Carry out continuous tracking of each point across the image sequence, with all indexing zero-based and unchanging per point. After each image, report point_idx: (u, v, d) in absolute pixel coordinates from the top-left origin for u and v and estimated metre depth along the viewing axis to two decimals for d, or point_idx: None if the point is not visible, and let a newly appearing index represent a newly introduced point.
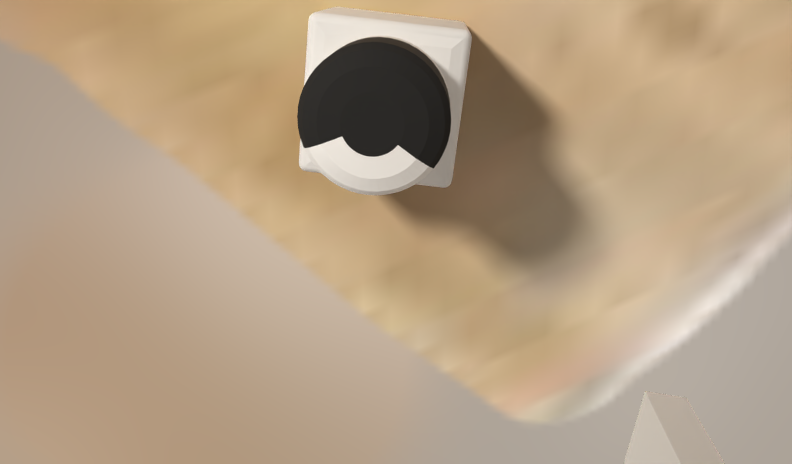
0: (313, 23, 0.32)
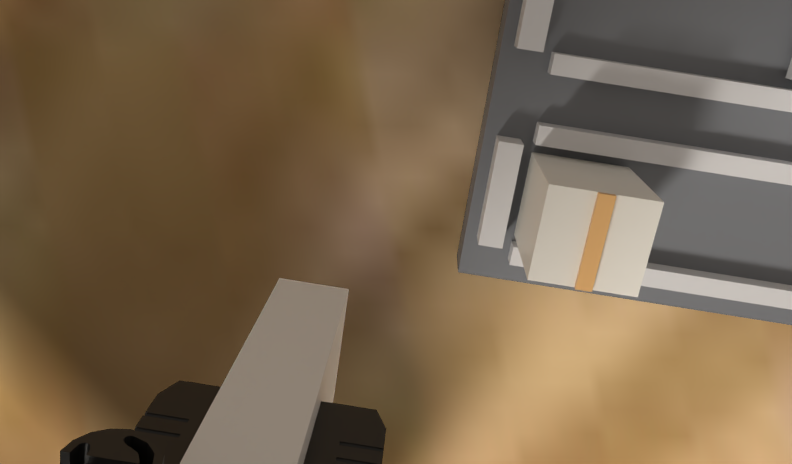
0: None
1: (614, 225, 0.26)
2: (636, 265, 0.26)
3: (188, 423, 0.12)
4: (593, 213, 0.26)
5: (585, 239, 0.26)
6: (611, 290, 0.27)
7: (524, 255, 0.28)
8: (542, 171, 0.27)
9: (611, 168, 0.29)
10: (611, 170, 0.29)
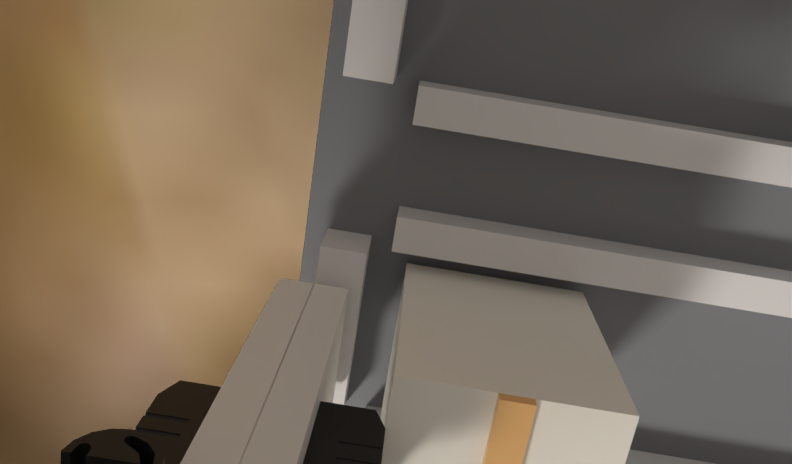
0: None
1: (536, 457, 0.12)
2: None
3: (188, 423, 0.12)
4: (491, 434, 0.12)
5: None
6: None
7: None
8: (401, 326, 0.14)
9: (548, 299, 0.16)
10: (546, 307, 0.15)
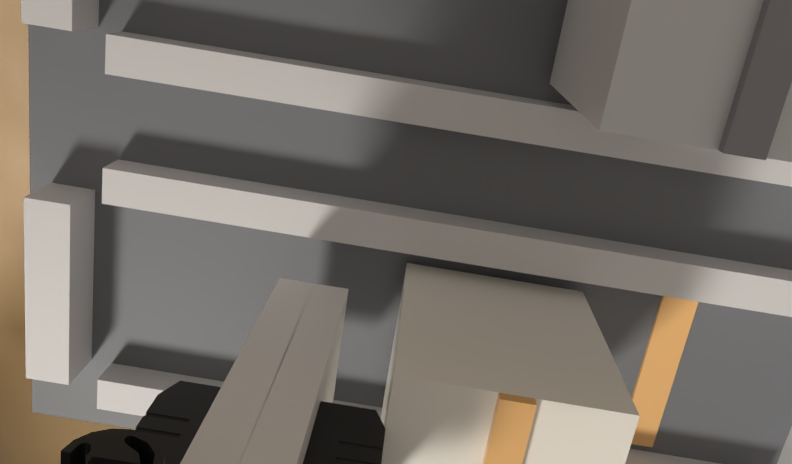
0: None
1: (536, 456, 0.12)
2: None
3: (188, 423, 0.12)
4: (490, 434, 0.12)
5: None
6: None
7: None
8: (401, 325, 0.14)
9: (548, 299, 0.16)
10: (546, 306, 0.16)
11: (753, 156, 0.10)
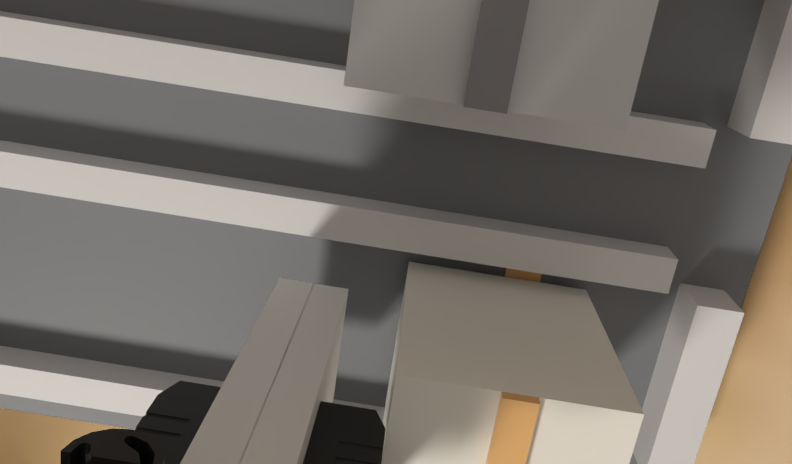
0: None
1: (540, 456, 0.12)
2: None
3: (188, 423, 0.12)
4: (494, 433, 0.12)
5: None
6: None
7: None
8: (403, 324, 0.14)
9: (551, 297, 0.16)
10: (549, 304, 0.15)
11: (494, 110, 0.10)
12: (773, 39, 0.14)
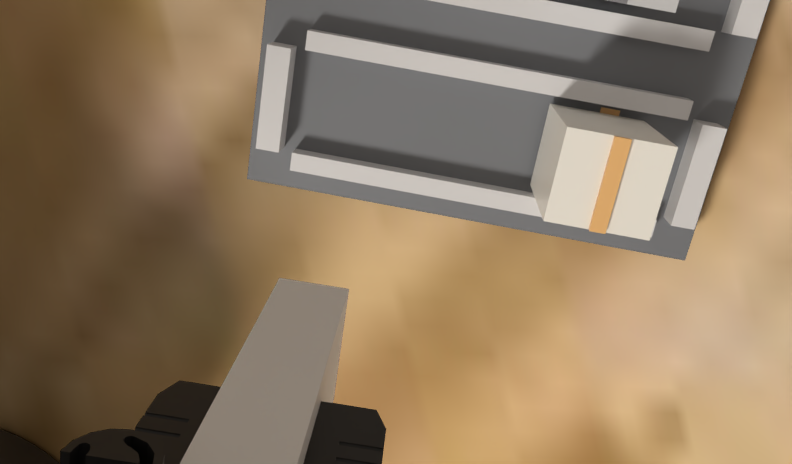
0: None
1: (629, 169, 0.27)
2: (648, 209, 0.27)
3: (188, 423, 0.12)
4: (609, 156, 0.27)
5: (600, 181, 0.27)
6: (623, 233, 0.28)
7: (540, 200, 0.29)
8: (560, 117, 0.28)
9: (627, 120, 0.30)
10: (627, 121, 0.30)
11: (621, 2, 0.25)
12: None
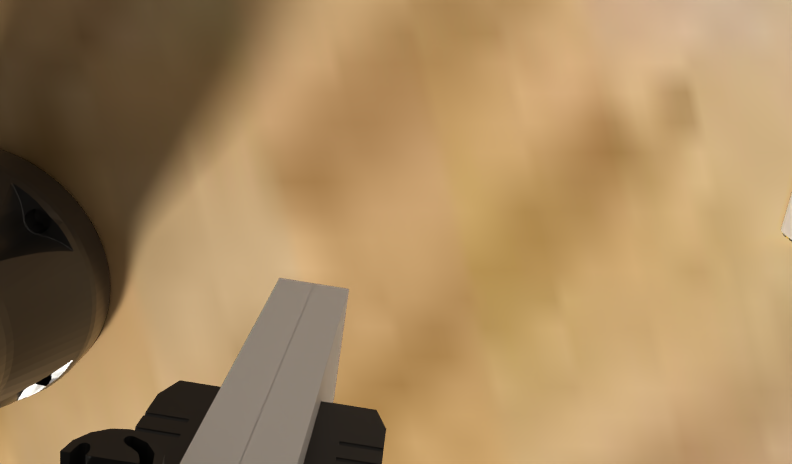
0: None
1: None
2: None
3: (188, 423, 0.12)
4: None
5: None
6: None
7: None
8: None
9: None
10: None
11: None
12: None
